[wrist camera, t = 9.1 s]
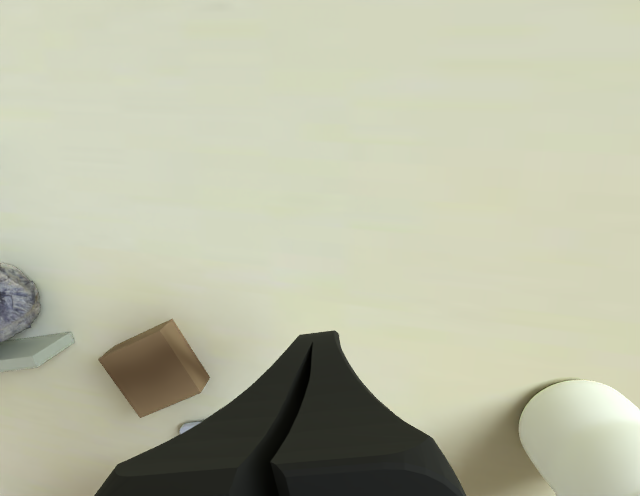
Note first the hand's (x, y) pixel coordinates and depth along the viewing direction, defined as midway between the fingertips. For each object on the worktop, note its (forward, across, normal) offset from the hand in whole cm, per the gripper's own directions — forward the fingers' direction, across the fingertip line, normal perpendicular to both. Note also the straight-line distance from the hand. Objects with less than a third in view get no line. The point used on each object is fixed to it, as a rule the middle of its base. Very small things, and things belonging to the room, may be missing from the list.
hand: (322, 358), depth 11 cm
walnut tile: (+10, +13, +5) cm, 17 cm away
